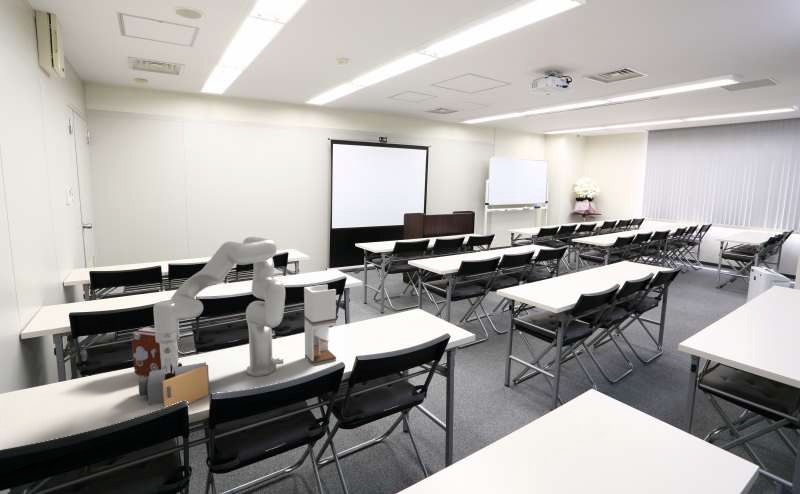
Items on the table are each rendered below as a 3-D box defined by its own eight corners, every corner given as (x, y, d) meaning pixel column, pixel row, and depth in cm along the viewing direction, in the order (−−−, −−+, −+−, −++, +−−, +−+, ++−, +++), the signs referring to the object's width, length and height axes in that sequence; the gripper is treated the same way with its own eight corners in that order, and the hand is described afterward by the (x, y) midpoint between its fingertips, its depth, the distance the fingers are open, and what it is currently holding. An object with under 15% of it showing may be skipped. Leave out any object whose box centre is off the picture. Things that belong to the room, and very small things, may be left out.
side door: (208, 392, 157) (207, 364, 155) (211, 394, 156) (209, 365, 154) (164, 412, 143) (162, 381, 141) (167, 414, 142) (165, 382, 140)
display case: (312, 366, 183) (312, 292, 177) (305, 357, 192) (304, 287, 186) (335, 360, 189) (335, 289, 184) (327, 352, 198) (327, 284, 192)
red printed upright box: (170, 382, 165) (167, 336, 162) (131, 376, 169) (127, 331, 166) (186, 372, 174) (184, 328, 171) (149, 367, 178) (145, 324, 175)
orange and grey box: (206, 380, 168) (206, 362, 166) (208, 393, 157) (207, 374, 156) (142, 391, 157) (140, 372, 156) (139, 407, 147) (137, 386, 145)
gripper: (178, 340, 138) (181, 390, 141) (180, 327, 152) (182, 372, 154) (153, 344, 135) (156, 394, 138) (157, 329, 148) (160, 376, 151)
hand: (170, 382), depth 146 cm, fingers closed
